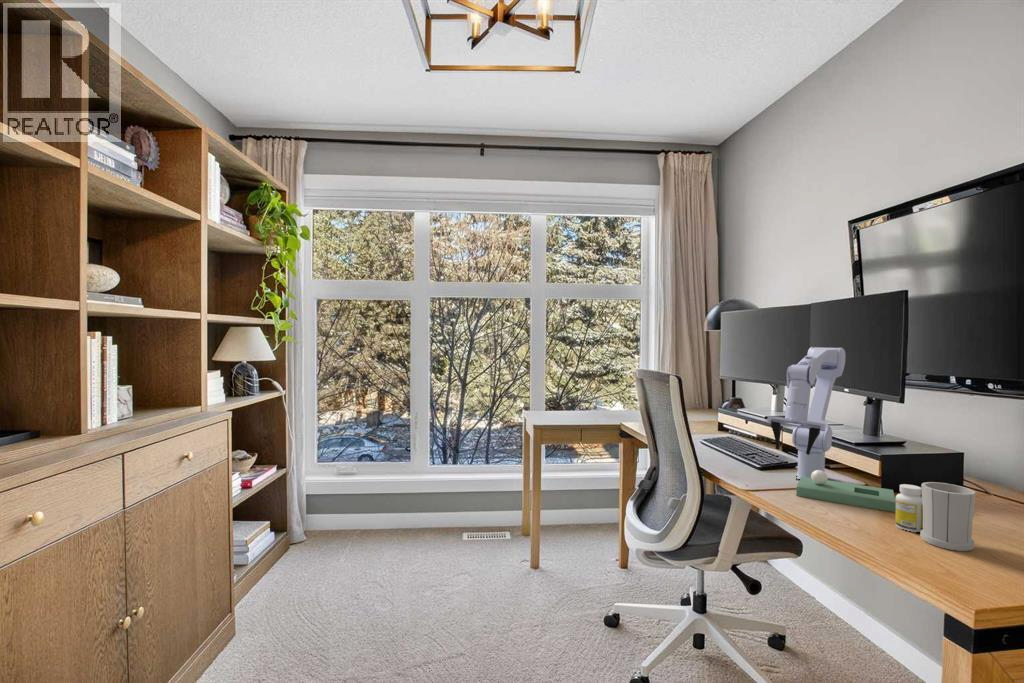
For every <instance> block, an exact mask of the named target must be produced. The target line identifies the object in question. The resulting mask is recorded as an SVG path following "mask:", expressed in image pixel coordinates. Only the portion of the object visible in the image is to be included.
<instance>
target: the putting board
mask: <svg viewBox="0 0 1024 683" xmlns="http://www.w3.org/2000/svg"><path fill="white" fill-rule="evenodd" d="M795 490H796V493H795V494H796V496H797V497H802V498H807V499H808V498H809V499H814V500H820V501H825V502H826V501H827V502H832V503H839V504H843V505H844V504H845V505H852V506H855V507H861V508H869V509H874V510H879V509H880V511H888V512H891V511H893V512H892V513H896V495H895V493H894V489H889V488H882V487H875V486H868V485H862V484H855V483H849V482H842V481H835V480H829V479H827V482H826V483H825V484H822V485H819V484H816V483H814V482H813V481H812V479H811V478H810V477H803V476H801V477H800V480H799V479H798V482H797V485H796V489H795Z"/></svg>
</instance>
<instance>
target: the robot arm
mask: <svg viewBox="0 0 1024 683" xmlns="http://www.w3.org/2000/svg"><path fill="white" fill-rule="evenodd" d="M846 356H847V355H846V350H845V349H844V348H843V347H820V346H819V347H814V346H811V347H809V348H808V350H807V354H806V355H805V356H804V357H803V358H802V359H801V360H800V361H799V362H798V363H797V364H791V365H789V366H788V367H787V369H786V389H787V396H786V404H785V414H784V417H781V416H772V415H767V420H766V422H767V424H770V427H771V430H772V431H773V432H772V433H773V437H774V441H775V449H776V450H778V451H779V450H780V448H781V447H780V445H781V444H780V442H781V435H782V434H781V433H782V428H783V426H789V427H794V429H793V431H792V434H791V442H792V444H793V446H794V447H795V449H796V450H797V472H796V475H798V476H799V477H801V476H803V477H810V478H811V474H812V472H813V471H815V470H821V471H823V472H825V467H826V464H825V463H826V452H829V450H830V449H831V448H832V443H833V430H832V427H831V426H830V425H829V424H828V423H827V422H825V421H826V416H827V412H828V408H829V405H830V400H831V396H832V391H833V387H834V384H835V382H836V379H837V378H840V377H842V375H843V372H844V369H845V365H846ZM814 384H815V386H814ZM812 386H814V390H813V393H812V394H813V395H812V397H811V389H812ZM810 399H811V400H810ZM810 401H811V402H810ZM825 473H826V472H825ZM796 475H795V476H796Z"/></svg>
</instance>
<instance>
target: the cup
mask: <svg viewBox="0 0 1024 683" xmlns="http://www.w3.org/2000/svg"><path fill="white" fill-rule="evenodd" d="M920 487H921V489H922V493H921V497H922V500H923V529H922V530H921V531H920V535H919V536H920V538H921V540H923V541H924V542H925V541H926V542H925V543H927V544H929V545H931V544H932V546H933V547H937V548H940V547H941V548H940V549H944V548H945V550H948V549H949V551H954V550H956V551H955V552H969V550H970V551H972V550H974V549H975V541H974V540H973V538H972V536H973V519H974V517H975V510H976V509H975V507H976V503H975V502H976V495H977V493H976V491H975V490H974V489H971V488H968V487H964V486H961V485H956V484H951V483H946V482H935V481H927V482H922V483H921V486H920Z"/></svg>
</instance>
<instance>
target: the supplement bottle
mask: <svg viewBox="0 0 1024 683" xmlns="http://www.w3.org/2000/svg"><path fill="white" fill-rule="evenodd" d="M899 492H900V493H898V494H896V495H895V500H896V512H895V526H896V528H898V529H899V530H902V529H904V530H903V531H905V530H907V531H906V532H909V531H911V532H910V533H916V532H920V531H921V530H922V529H923V500H922V487H921V486H918V485H914V484H906V483H903V484H902V483H901V484H899Z"/></svg>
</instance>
